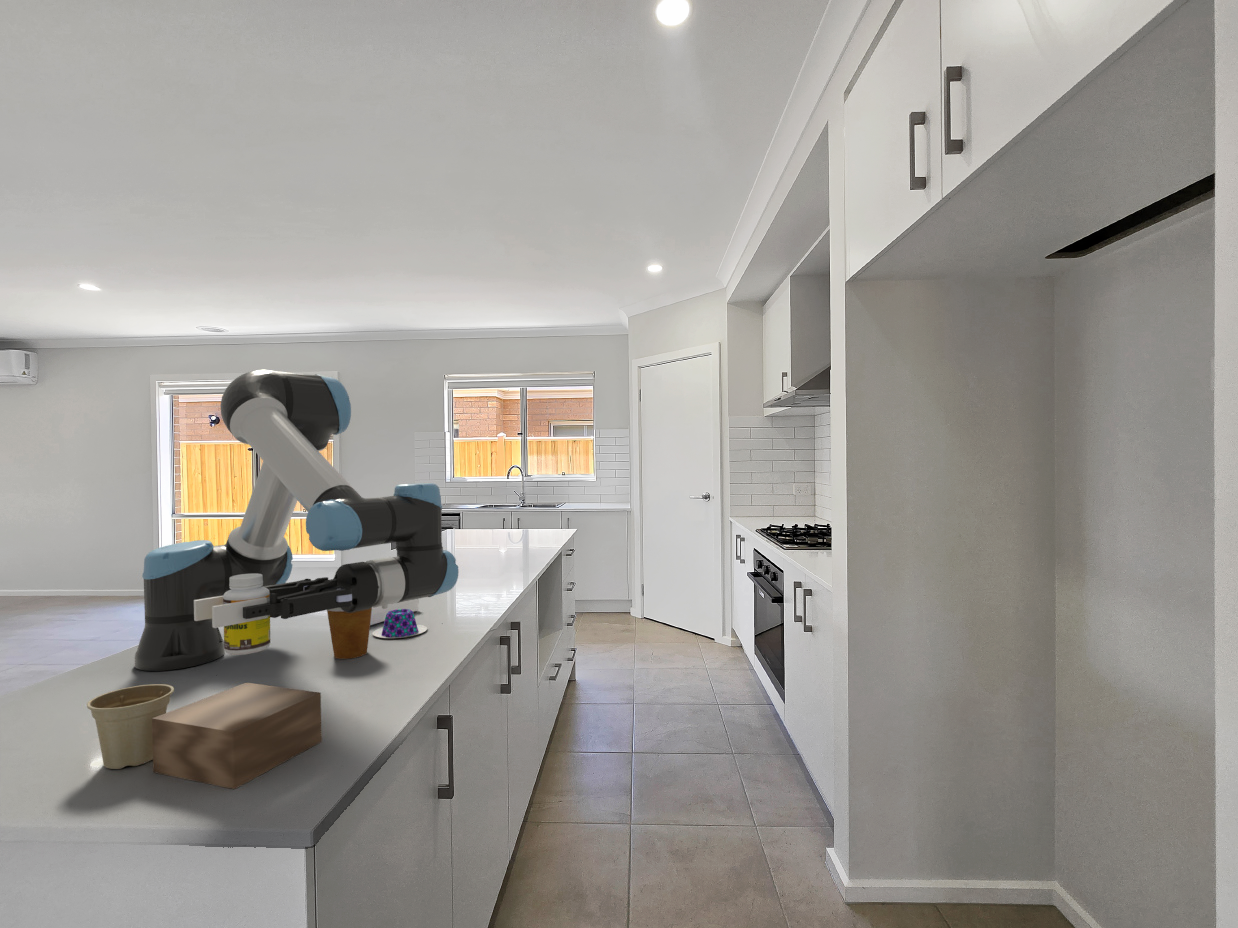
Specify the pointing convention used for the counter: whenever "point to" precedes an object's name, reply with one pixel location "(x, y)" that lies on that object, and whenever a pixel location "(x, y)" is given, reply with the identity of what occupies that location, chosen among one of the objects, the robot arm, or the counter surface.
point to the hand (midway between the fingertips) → (204, 613)
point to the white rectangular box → (380, 613)
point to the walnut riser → (236, 734)
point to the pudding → (399, 625)
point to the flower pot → (128, 722)
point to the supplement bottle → (249, 633)
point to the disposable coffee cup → (349, 632)
